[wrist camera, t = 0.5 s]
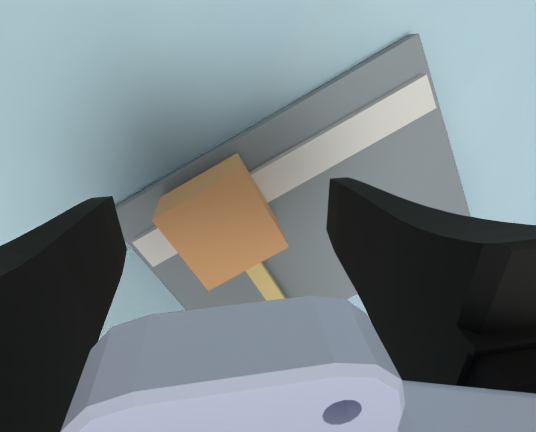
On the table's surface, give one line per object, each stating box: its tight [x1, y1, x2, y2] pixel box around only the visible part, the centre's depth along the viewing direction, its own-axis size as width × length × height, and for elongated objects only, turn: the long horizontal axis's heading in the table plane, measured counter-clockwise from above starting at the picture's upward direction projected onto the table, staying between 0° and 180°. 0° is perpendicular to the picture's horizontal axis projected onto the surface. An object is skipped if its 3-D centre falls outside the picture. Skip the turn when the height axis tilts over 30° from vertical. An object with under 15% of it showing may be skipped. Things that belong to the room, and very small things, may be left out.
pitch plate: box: [115, 34, 471, 310], centre depth 22 cm, size 20×14×2 cm
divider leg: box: [152, 153, 289, 301], centre depth 21 cm, size 5×12×3 cm, turn 28°
